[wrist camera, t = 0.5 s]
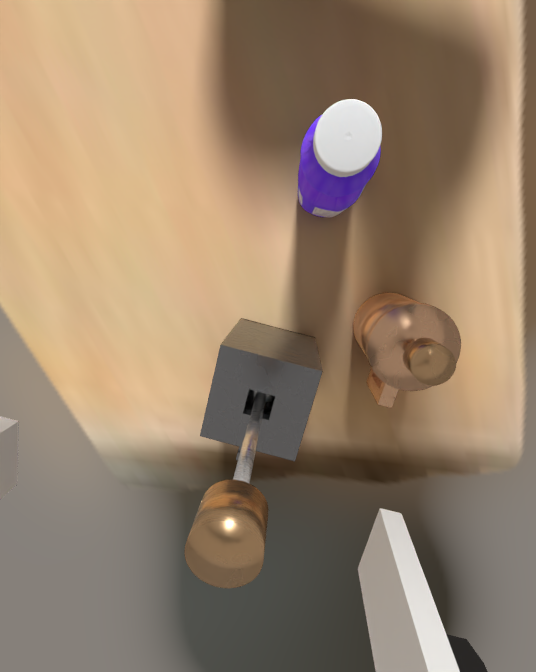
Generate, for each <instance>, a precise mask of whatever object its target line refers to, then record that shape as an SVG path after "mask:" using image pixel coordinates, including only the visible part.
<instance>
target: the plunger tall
mask: <svg viewBox="0 0 536 672" xmlns="http://www.w3.org/2000/svg"><path fill="white" fill-rule="evenodd" d="M274 398H275V396H273V395H269V394H265V393H262V392H258V391H254V390H250V389H249V393H248V396H247V400H246V404H245V408H244V409H248V410H252V411H251V415H250V418H249V422H248V426H247V429H246V433H245V437H244V441H243V444H242V448H241V452H240V455H239V459H238V463H237V466H236V470H235V474H234V477H233V480H224V481H220V482H218V483H216V484H214V485H212V486H211V487H210V488H209V489H208V490H207V491H206V493H205V494H204V496H203V499H202V501H201V504H200V507H199V510H198V512H197V515H196V517H195V520H194V523H193V526H192V528H191V531H190V534H189V536H188V539H187V542H186V545H185V559H186V562H187V564H188V566H189V568H190V569H191V571H192V572H193V573H194V574H195V575H196V576H197V577H198V578H199V579H201V580H202V581H204V582H205V583H207V584H210V585H212V586H216V587H220V588H236V587H240V586H243V585H246V584H248V583H249V582H251V581H252V580H253V579H255V578H256V577H257V575H258V574H259V572H260V571H261V568H262V566H263V560H264V550H265V540H266V530H267V521H268V505H267V502H266V499H265V497H264V496H263V494H262V493H261V492H260V491H259V490H258V489H257V488H256V487H254V486H253V485H251V484H249V482H250V477H251V472H252V467H253V462H254V457H255V452H256V447H257V442H258V437H259V432H260V427H261V421H262V416H263V414H267V415H270V412H271V408H272V405H273V401H274Z"/></svg>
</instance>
